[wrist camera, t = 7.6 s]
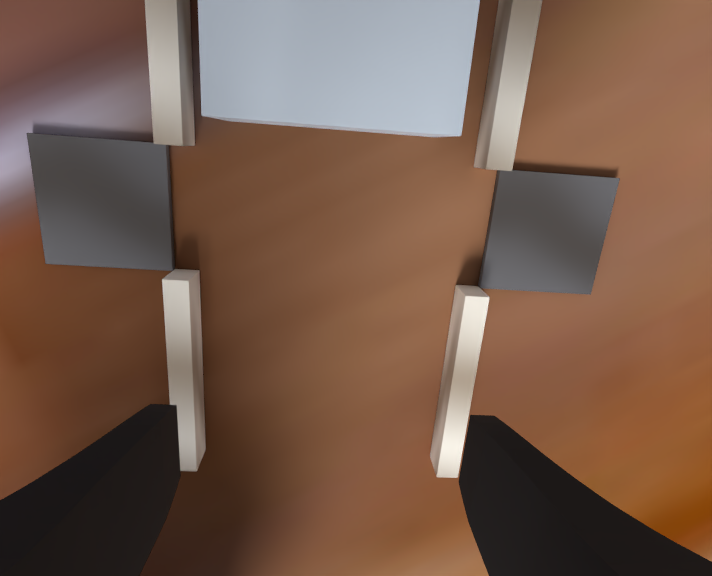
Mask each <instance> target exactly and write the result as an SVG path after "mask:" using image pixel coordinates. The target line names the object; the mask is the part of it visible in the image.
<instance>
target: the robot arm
mask: <svg viewBox="0 0 712 576" xmlns="http://www.w3.org/2000/svg"><path fill="white" fill-rule="evenodd" d="M180 476H181V474H180V456H179V438H178V420H177V405H162V404H150V405H148V406H147V407H145V408H144V409H142V410H141V411H139V412H138V413H136V414H135V415H133V416H132V417H130V418H129V419H127V420H126V421H125V422H123V423H122V424H120V425H119V426H117V427H116V428H114V429H113V430H112V431H110V432H109V433H107V434H106V435H104V436H103V437H101V438H100V439H98V440H97V441H96V442H94V443H93V444H91V445H90V446H88V447H87V448H85V449H84V450H82V451H81V452H79V453H78V454H76V455H75V456H73V457H72V458H70V459H68V460H67V461H65V462H64V463H62V464H60V465H59V466H57V467H56V468H54V469H52V470H51V471H49V472H48V473H46V474H44V475H43V476H41V477H40V478H38V479H36V480H35V481H33V482H32V483H30V484H28V485H26V486H25V487H23V488H21V489H20V490H18V491H16V492H14V493H13V494H11V495H9V496H7V497H5V498H4V499H2V500H0V576H139V575H140V573H141V571H142V569H143V567H144V565H145V563H146V561H147V558H148V556H149V554H150V552H151V550H152V548H153V546H154V544H155V541H156V539H157V537H158V535H159V533H160V531H161V529H162V527H163V524H164V522H165V520H166V518H167V515H168V512H169V509H170V506H171V504H172V501H173V498H174V495H175V492H176V488H177V485H178V482H179V479H180ZM459 486H460V490H461V494H462V498H463V503H464V506H465V510H466V514H467V518H468V522H469V524H470V527H471V530H472V532H473V535H474V538H475V540H476V543H477V546H478V548H479V551H480V553H481V556H482V559H483V561H484V564H485V566H486V569H487V571H488V574H489V576H712V562H711V561H709V560H707V559H705V558H703V557H701V556H700V555H698V554H696V553H694V552H692V551H690V550H688V549H687V548H685V547H683V546H681V545H679V544H677V543H675V542H674V541H672V540H670V539H668V538H667V537H665V536H663V535H661V534H660V533H658V532H656V531H654V530H653V529H651V528H649V527H648V526H646V525H644V524H643V523H641V522H640V521H638V520H636V519H635V518H633V517H632V516H630V515H628V514H627V513H625V512H623V511H622V510H620V509H619V508H617V507H616V506H614V505H613V504H611V503H610V502H608V501H607V500H605V499H604V498H602V497H601V496H599V495H598V494H596V493H595V492H594V491H592V490H591V489H589V488H588V487H587V486H585V485H584V484H582V483H581V482H579V481H578V480H577V479H575V478H574V477H573V476H571V475H570V474H569V473H567V472H566V471H565V470H563V469H562V468H561V467H559V466H558V465H557V464H555V463H554V462H553V461H552V460H550V459H549V458H548V457H546V456H545V455H544V454H543V453H541V452H540V451H539V450H538V449H536V448H535V447H534V446H533V445H531V444H530V443H529V442H528V441H526V440H525V439H524V438H523V437H521V436H520V435H519V434H518V433H516V432H515V431H514V430H513V429H511V428H510V427H509V426H507V425H506V424H505V423H504V422H502V421H501V420H499V419H498V418H497V417H495V416H485V415H470V420H469V426H468V432H467V437H466V443H465V449H464V454H463V460H462V466H461V471H460V477H459Z"/></svg>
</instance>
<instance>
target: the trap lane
mask: <svg viewBox="0 0 712 576" xmlns="http://www.w3.org/2000/svg"><path fill="white" fill-rule="evenodd" d="M541 5H542V0H499V3H498V9H497V16H496V23H495V29H494V36H493V42H492V49H491V56H490V62H489V69H488V75H487V82H486V89H485V95H484V102H483V108H482V115H481V122H480V128H479V135H478V142H477V148H476V155H475V161H474V167H476V168H482V169H490V170H497V176H496V182H495V188H494V194H493V200H492V206H491V212H490V218H489V224H488V230H487V236H486V242H485V248H484V254H483V260H482V266H481V272H480V278H479V283H478V286H468V285H456V287H455V293H454V300H453V307H452V313H451V320H450V326H449V333H448V340H447V346H446V353H445V359H444V366H443V373H442V379H441V386H440V393H439V399H438V406H437V412H436V419H435V426H434V432H433V439H432V445H431V452H430V457H431V461H432V464H433V467H434V470H435V473H436V477H451V478H458V472H459V467H460V461H461V455H462V450H463V444H464V439H465V433H466V427H467V422H468V416H469V410H470V405H471V399H472V394H473V388H474V382H475V377H476V371H477V365H478V360H479V354H480V349H481V343H482V337H483V332H484V326H485V320H486V315H487V309H488V303H489V298H490V297H489V296H488V295H487V294H486V293H485V292H484V291H483V290H482V289H481V288H486V289H504V290H521V291H539V292H557V293H575V294H591V291H592V287H593V283H594V279H595V275H596V271H597V267H598V263H599V259H600V255H601V251H602V247H603V243H604V239H605V235H606V231H607V227H608V223H609V219H610V215H611V211H612V207H613V203H614V199H615V195H616V191H617V187H618V183H619V179H620V178H610V177H597V176H584V175H571V174H558V173H545V172H532V171H519V170H512V168H513V163H514V157H515V151H516V146H517V140H518V135H519V129H520V123H521V118H522V112H523V106H524V101H525V95H526V90H527V84H528V78H529V73H530V67H531V61H532V56H533V50H534V45H535V39H536V33H537V28H538V22H539V16H540V11H541ZM145 13H146V29H147V45H148V61H149V77H150V93H151V109H152V125H153V141H154V143H153V142H140V141H127V140H114V139H101V138H88V137H75V136H62V135H49V134H36V133H27V138H28V145H29V152H30V159H31V166H32V173H33V180H34V186H35V193H36V200H37V207H38V214H39V221H40V228H41V235H42V242H43V248H44V255H45V262H46V264H59V265H77V266H95V267H113V268H130V269H148V270H166V271H172V272H171V273H169V274H168V275H167V276H166V277H164V278H163V279H162V286H163V302H164V318H165V334H166V350H167V366H168V382H169V398H170V405H177V420H178V438H179V456H180V471H197V470H198V467H199V465H200V462H201V460H202V457H203V455H204V453H205V450H206V442H205V413H204V384H203V356H202V327H201V299H200V270H186V269H175V257H174V238H173V219H172V200H171V181H170V162H169V145H176V146H195V127H194V99H193V70H192V42H191V13H190V0H145Z"/></svg>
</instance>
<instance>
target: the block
mask: <svg viewBox="0 0 712 576" xmlns="http://www.w3.org/2000/svg"><path fill="white" fill-rule="evenodd" d="M479 4H480V0H198V23H199V53H200V84H201V114H202V116H206V117H211V118H216V119H221V120H226V121H233V122H246V123H259V124H271V125H284V126H297V127H310V128H323V129H335V130H348V131H361V132H374V133H387V134H399V135H412V136H425V137H453V136H461V134H462V127H463V120H464V112H465V105H466V98H467V91H468V83H469V76H470V69H471V62H472V54H473V47H474V40H475V33H476V25H477V18H478V11H479Z"/></svg>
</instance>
